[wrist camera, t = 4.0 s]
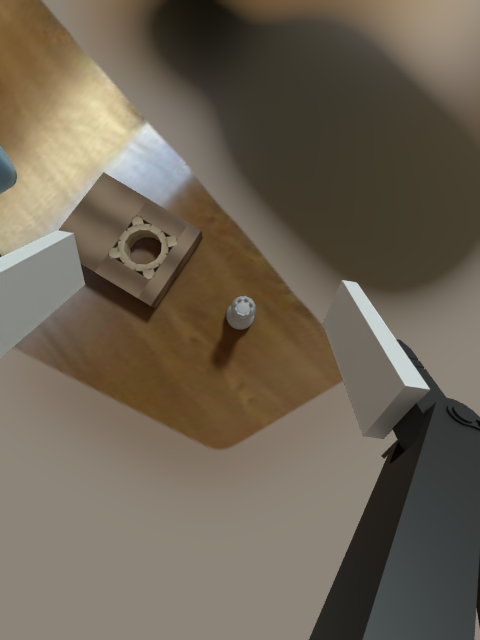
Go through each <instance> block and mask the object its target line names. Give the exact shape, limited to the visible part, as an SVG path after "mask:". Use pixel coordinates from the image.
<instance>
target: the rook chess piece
mask: <svg viewBox="0 0 480 640" xmlns="http://www.w3.org/2000/svg"><path fill="white" fill-rule="evenodd" d="M254 313H255V304H254V302H253V301H252V300H251V299H250V298H249V297H246V296H240V297H238V298H236V299H235V300H234V301H233V302H232V305H231V306H230V307H229V308H228V310H227V313H226V319H227V321H228V323H229V325H231V326H232V327H233V328H235V329H238V330H241V329H246V328H248V327H249V326H250V325H251V324H252V322H253V320H254Z"/></svg>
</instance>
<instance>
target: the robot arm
mask: <svg viewBox="0 0 480 640" xmlns="http://www.w3.org/2000/svg"><path fill="white" fill-rule="evenodd" d="M16 179H17V173H16V170H15V167H14V165H13V164H12V162H11V160H10V159H9V157H8V156H7V154H6V153H5V151H4V150H3V148H2V147H1V145H0V194H1V193H3V192H4V191H6V190H8V189H9V188H11V187H12V186H13V185H14V184H15V183H16ZM84 285H85V281H84V277H83V272H82V268H81V264H80V259H79V255H78V250H77V246H76V241H75V237H74V233H70V232H64V231H59V230H56V231H54V232H52V233H50V234H48V235H46V236H44V237H42V238H40V239H38V240H35V241H33V242H31V243H29V244H27V245H25V246H23V247H21V248H19V249H17V250H14V251H12V252H10V253H8V254H6V255H4V256H2V257H1V255H0V358H1V357H2V356H4V355H5V354H6V353H7V352H8V351H9V350H11V349H12V348H13V347H14V346H15V345H16V344H17V343H19V342H20V341H21V340H22V339H23V338H24V337H25V336H27V335H28V334H29V333H30V332H31V331H32V330H33V329H35V328H36V327H37V326H38V325H39V324H40V323H41V322H43V321H44V320H45V319H46V318H47V317H48V316H49V315H51V314H52V313H53V312H54V311H55V310H56V309H58V308H59V307H60V306H61V305H62V304H63V303H64V302H66V301H67V300H68V299H69V298H70V297H71V296H72V295H74V294H75V293H76V292H77V291H78V290H79V289H80V288H82V287H83V286H84ZM323 326H324V329H325V331H326V334H327V337H328V340H329V343H330V345H331V348H332V351H333V354H334V357H335V359H336V362H337V365H338V368H339V371H340V373H341V376H342V379H343V382H344V385H345V387H346V390H347V393H348V396H349V399H350V401H351V404H352V407H353V410H354V412H355V415H356V418H357V421H358V424H359V427H360V429H361V432H362V435H363V436H366V437H373V438H380V439H384V438H385V437H386V436H387V435H388V434H389V433H390V432H391V431H392V430H393V431H394V433H395V435H396V437H397V439H398V440H397V441H396V442H395V443H394V444H393V445H392V446H391V447H390V448H389V449H388V450H387V451H386V452H385V453H384V454H383V455H382V457H383V458H385V457H386V456H387V455H388V456H387V459H386V461H385V463H384V466H383V468H382V470H381V473H380V475H379V477H378V480H377V482H376V484H375V487H374V489H373V491H372V494H371V496H370V498H369V501H368V503H367V505H366V508H365V510H364V513H363V515H362V517H361V519H360V522H359V524H358V526H357V529H356V531H355V533H354V536H353V538H352V541H351V543H350V545H349V548H348V550H347V552H346V554H345V557H344V559H343V561H342V564H341V566H340V568H339V571H338V573H337V576H336V578H335V580H334V582H333V585H332V587H331V590H330V592H329V594H328V596H327V599H326V601H325V604H324V606H323V608H322V611H321V613H320V615H319V618H318V620H317V623H316V625H315V627H314V629H313V632H312V634H311V636H310V639H309V640H474V636H475V620H476V607H477V613H478V619H479V625H480V417H479V416H478V415H477V414H476V413H475V412H474V411H473V410H471V409H470V408H468V407H467V406H466V405H464V404H462V403H460V402H458V401H456V400H454V399H450V398H446V397H445V395H444V394H443V392H442V391H441V390H440V388H439V387H438V386H437V384H436V383H435V381H434V380H433V379H432V377H431V376H430V375H429V373H428V372H427V370H426V369H424V366H423V365H422V364H421V362H420V361H418V358H417V357H416V355H415V354H414V353H413V351H412V350H411V349H410V348H409V347H408V346H407V345H405V344H404V343H403V342H402V341H401V340H397V339H395V337H394V336H393V335H392V333H391V332H390V330H389V329H388V327H387V326H386V324H385V323H384V321H383V320H382V319H381V317H380V316H379V314H378V313H377V311H376V310H375V308H374V307H373V305H372V304H371V303H370V301H369V300H368V298H367V297H366V295H365V294H364V292H363V291H362V290H361V288H360V287H359V285H358V284H357V283H356V282H350V281H344V280H342V282H341V284H340V286H339V288H338V290H337V293H336V295H335V297H334V299H333V302H332V304H331V306H330V308H329V311H328V313H327V315H326V317H325V319H324V322H323Z"/></svg>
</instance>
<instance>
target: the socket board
mask: <svg viewBox="0 0 480 640" xmlns="http://www.w3.org/2000/svg"><path fill="white" fill-rule="evenodd" d="M59 231H64V232H70V233H74V237H75V241H76V246H77V250H78V255H79V259H80V264H82V265H83V266H85V267H87V268H88V269H90V270H92V271H93V272H95V273H97V274H98V275H100V276H101V277H103V278H105V279H106V280H108V281H110V282H111V283H113V284H115V285H116V286H118V287H120V288H121V289H123V290H125V291H126V292H128V293H130V294H131V295H133V296H135V297H136V298H138V299H139V300H141V301H143V302H144V303H146V304H148V305H149V306H151V307H153V308H154V309H155V308H156V307H157V305H158V304H159V302H160V301H161V299H162V298H163V297H164V295H165V294H166V292H167V291H168V289H169V288H170V286H171V285H172V283H173V282H174V280H175V279H176V277H177V276H178V274H179V273H180V271H181V270H182V268H183V267H184V265H185V264H186V262H187V261H188V259H189V258H190V256H191V255H192V253H193V252H194V250H195V249H196V247H197V246H198V244H199V243H200V241H201V240H202V238H203V237H202V231H201V230H199V229H198V228H196V227H194V226H193V225H191V224H189V223H188V222H186V221H184V220H183V219H181V218H179V217H178V216H176V215H174V214H173V213H171V212H169V211H168V210H166V209H164V208H163V207H161V206H159V205H158V204H156V203H154V202H152V201H151V200H149V199H147V198H146V197H144V196H142V195H141V194H139V193H137V192H136V191H134V190H132V189H131V188H129V187H127V186H126V185H124V184H122V183H121V182H119V181H117V180H116V179H114V178H112V177H111V176H109V175H107V174H106V173H104V172H103V174H102V175H101V176H100V177H99V179H98V180H97V181H96V183H95V184H94V185H93V186H92V188H91V189H90V190H89V192H88V193H87V194H86V195H85V197H84V198H83V199H82V201H81V202H80V203H79V204H78V206H77V207H76V208H75V210H74V211H73V212H72V213H71V215H70V216H69V217H68V218H67V220H66V221H65V222H64V224H63V225H62V226H61V227H60V229H59ZM144 237H149V238H155V239H157V240H158V241H160V242H161V243H162V246H161V253H160V255H159V256H158V258H157V259H156V260H155V261H153V262H151V263H149V264H147V265H143V264H136V263H134V262H132V260H131V258H130V253H131V248H132V246H133V245H134V244H135V242H136V241H138V240H140V239H142V238H144Z"/></svg>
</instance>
